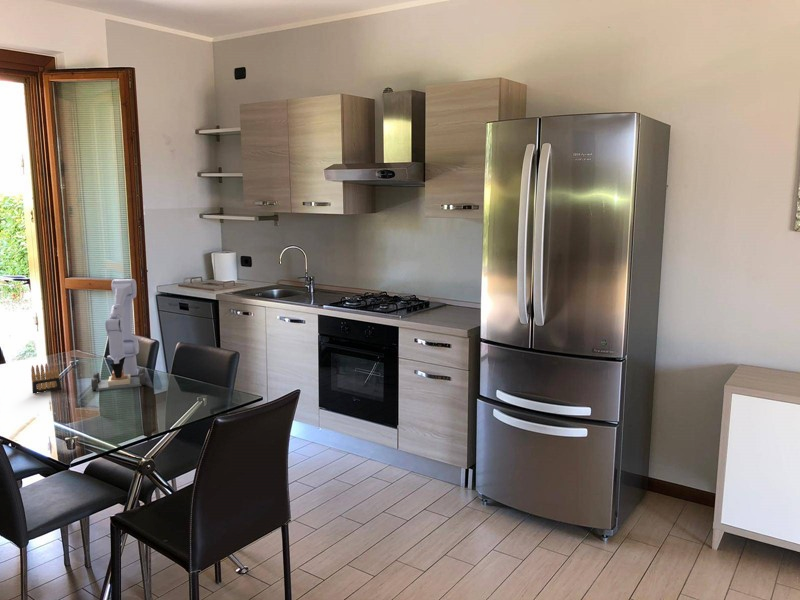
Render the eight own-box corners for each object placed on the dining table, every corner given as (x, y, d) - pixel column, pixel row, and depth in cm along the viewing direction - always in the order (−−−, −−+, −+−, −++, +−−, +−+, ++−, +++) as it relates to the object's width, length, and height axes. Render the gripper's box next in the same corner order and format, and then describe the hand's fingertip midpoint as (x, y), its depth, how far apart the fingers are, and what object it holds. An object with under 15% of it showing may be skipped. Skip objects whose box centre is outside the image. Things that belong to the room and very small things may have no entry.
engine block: (113, 381, 293) (112, 368, 292) (124, 380, 295) (123, 367, 294) (113, 384, 289) (111, 371, 288) (124, 383, 290) (122, 370, 289)
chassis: (95, 382, 295) (94, 371, 294) (145, 377, 302) (145, 366, 301) (92, 391, 282) (91, 380, 281) (145, 386, 289) (144, 374, 288)
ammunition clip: (33, 393, 281) (30, 366, 279) (32, 392, 282) (29, 365, 280) (61, 388, 287) (58, 361, 285) (60, 387, 288) (57, 361, 286)
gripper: (107, 342, 295) (110, 372, 297) (105, 350, 281) (107, 381, 283) (124, 341, 297) (127, 370, 299) (123, 348, 283) (125, 379, 286)
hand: (119, 375), depth 291 cm, fingers open, 6 cm apart
